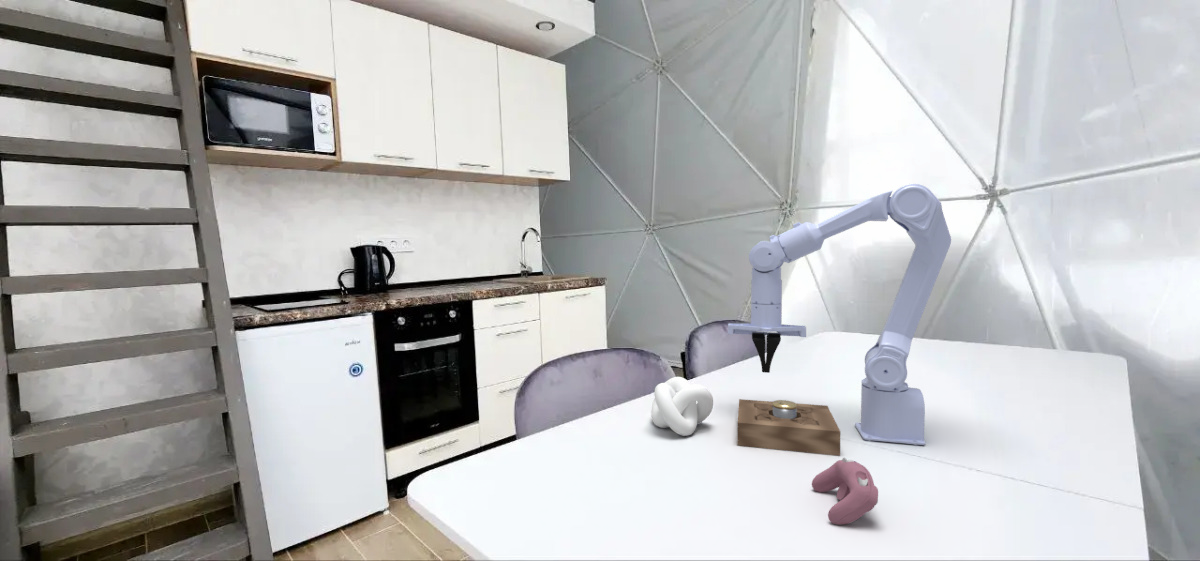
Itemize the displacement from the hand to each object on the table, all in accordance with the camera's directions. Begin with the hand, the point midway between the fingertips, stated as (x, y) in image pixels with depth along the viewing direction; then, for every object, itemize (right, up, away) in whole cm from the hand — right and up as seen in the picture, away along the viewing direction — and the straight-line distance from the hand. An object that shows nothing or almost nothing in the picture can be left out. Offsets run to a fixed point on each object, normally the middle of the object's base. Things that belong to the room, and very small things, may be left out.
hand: (765, 371), depth 97 cm
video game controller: (-1, -12, -34) cm, 36 cm away
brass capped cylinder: (0, -10, -9) cm, 14 cm away
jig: (0, -10, -9) cm, 13 cm away
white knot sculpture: (-17, -10, -5) cm, 20 cm away
